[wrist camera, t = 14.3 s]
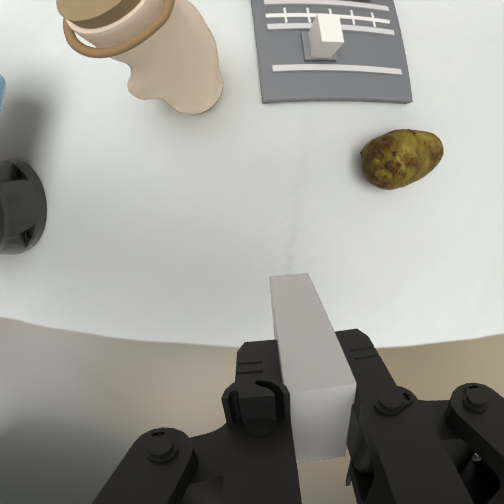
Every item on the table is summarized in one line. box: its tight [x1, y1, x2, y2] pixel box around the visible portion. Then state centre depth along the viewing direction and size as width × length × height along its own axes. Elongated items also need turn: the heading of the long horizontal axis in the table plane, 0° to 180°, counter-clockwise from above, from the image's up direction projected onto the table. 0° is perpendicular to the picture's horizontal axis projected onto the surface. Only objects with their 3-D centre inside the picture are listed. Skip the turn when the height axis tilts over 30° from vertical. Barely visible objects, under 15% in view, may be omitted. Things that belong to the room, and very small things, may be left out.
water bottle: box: [56, 0, 223, 114], centre depth 23 cm, size 10×9×28 cm
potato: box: [360, 129, 443, 190], centre depth 35 cm, size 8×13×8 cm, turn 88°
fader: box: [301, 13, 344, 62], centre depth 29 cm, size 4×4×7 cm
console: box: [251, 0, 413, 104], centre depth 32 cm, size 20×24×3 cm
